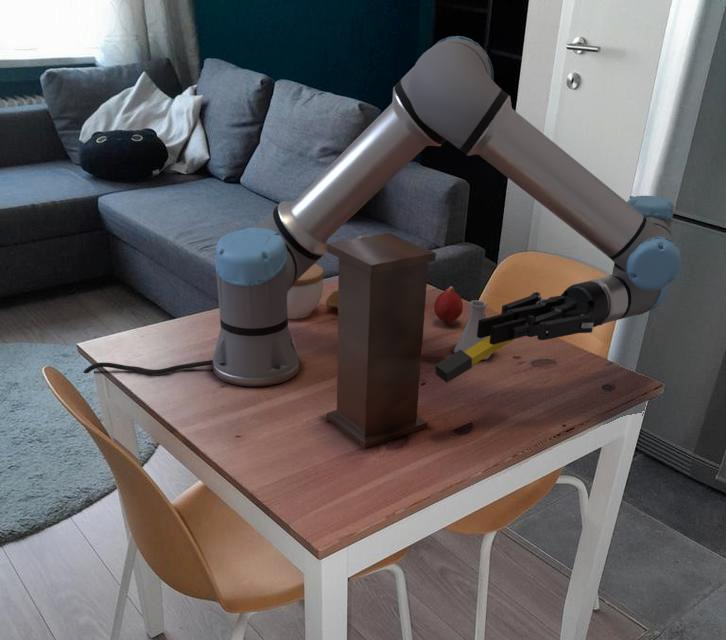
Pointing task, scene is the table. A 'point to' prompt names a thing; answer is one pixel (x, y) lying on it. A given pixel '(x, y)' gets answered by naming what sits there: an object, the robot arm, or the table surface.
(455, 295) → the pomegranate
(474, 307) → the flask
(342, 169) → the robot arm
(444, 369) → the highlighter
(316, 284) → the lidded bowl
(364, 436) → the pedestal stand
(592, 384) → the table surface
